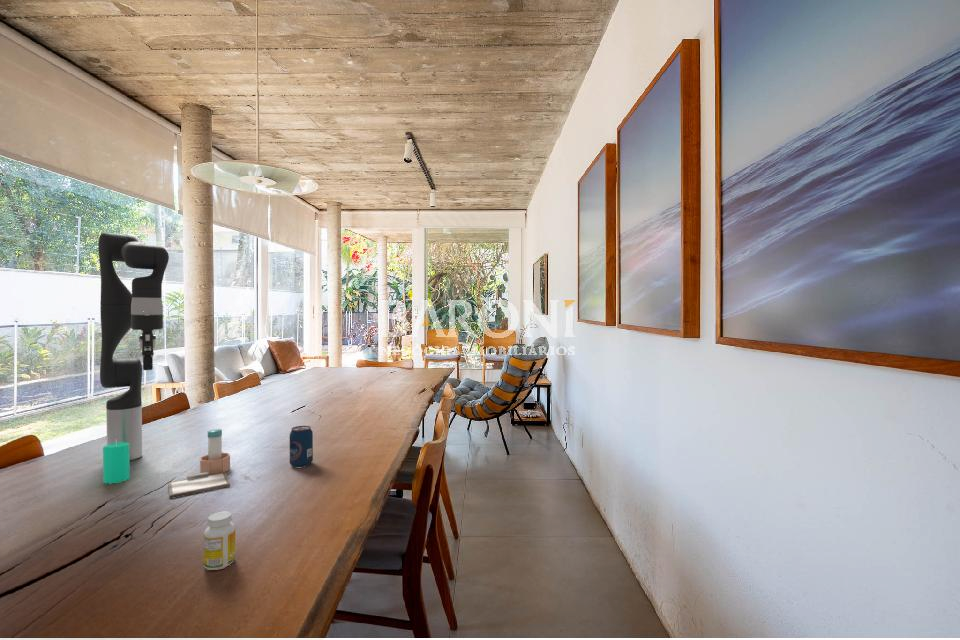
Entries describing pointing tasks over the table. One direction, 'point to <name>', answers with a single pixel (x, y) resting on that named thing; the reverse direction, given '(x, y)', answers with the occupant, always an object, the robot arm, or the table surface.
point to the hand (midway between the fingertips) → (147, 368)
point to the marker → (214, 444)
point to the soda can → (301, 446)
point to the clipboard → (198, 484)
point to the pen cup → (215, 464)
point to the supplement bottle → (219, 540)
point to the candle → (116, 462)
